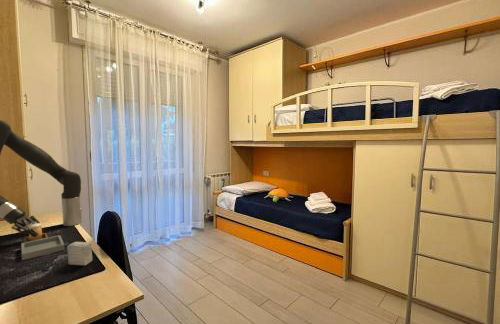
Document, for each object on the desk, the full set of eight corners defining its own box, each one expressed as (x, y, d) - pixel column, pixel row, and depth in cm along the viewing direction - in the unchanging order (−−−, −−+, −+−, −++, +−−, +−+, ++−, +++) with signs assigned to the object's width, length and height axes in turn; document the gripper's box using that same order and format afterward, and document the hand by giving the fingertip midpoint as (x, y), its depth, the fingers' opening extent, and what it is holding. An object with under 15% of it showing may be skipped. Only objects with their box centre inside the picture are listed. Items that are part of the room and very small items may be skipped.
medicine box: (92, 260, 107) (91, 242, 107) (84, 266, 103) (83, 246, 102) (76, 259, 108) (75, 241, 107) (68, 264, 104) (66, 245, 103)
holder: (46, 236, 132) (46, 232, 132) (48, 241, 126) (47, 237, 126) (24, 241, 126) (23, 237, 126) (24, 246, 119) (24, 243, 119)
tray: (60, 240, 128) (60, 235, 128) (64, 249, 117) (64, 244, 117) (21, 248, 117) (21, 243, 117) (22, 260, 107) (21, 254, 106)
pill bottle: (42, 238, 129) (40, 222, 128) (42, 241, 126) (41, 225, 125) (29, 241, 126) (28, 224, 125) (29, 244, 122) (28, 227, 121)
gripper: (5, 211, 115) (37, 233, 119) (25, 203, 129) (53, 223, 133) (-7, 222, 115) (25, 244, 119) (14, 213, 128) (42, 233, 132)
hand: (39, 233), depth 126 cm, fingers closed on pill bottle, 5 cm apart
